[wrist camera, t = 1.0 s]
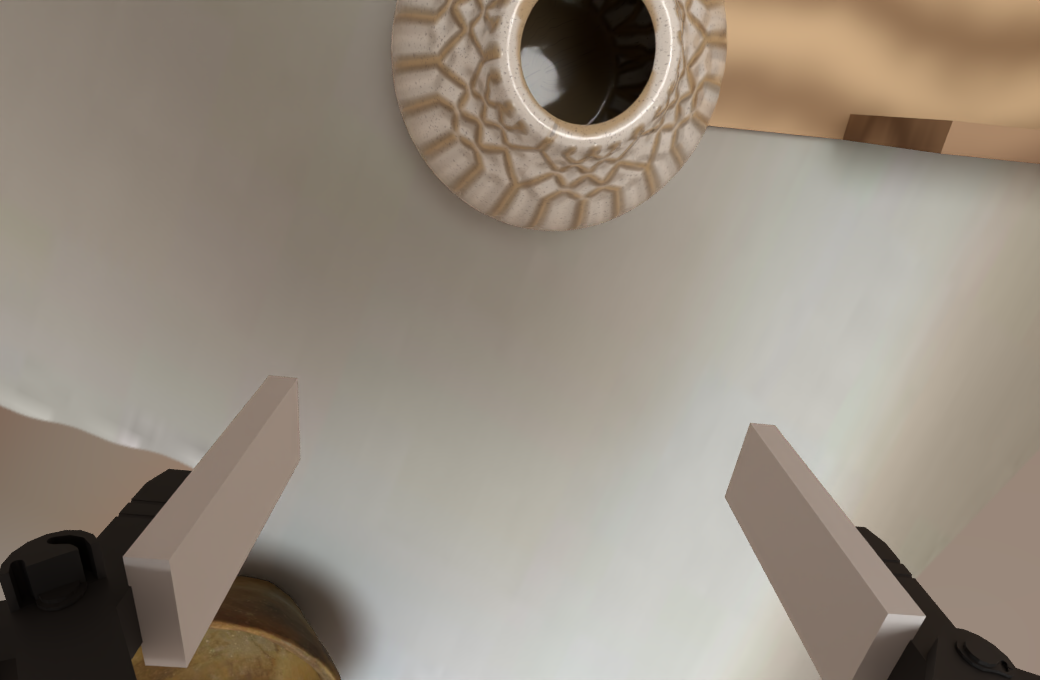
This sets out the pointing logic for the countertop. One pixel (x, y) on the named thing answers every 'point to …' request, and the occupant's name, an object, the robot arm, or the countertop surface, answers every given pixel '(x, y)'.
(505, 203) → the vase
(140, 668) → the bowl
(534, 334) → the countertop surface
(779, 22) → the shelf
